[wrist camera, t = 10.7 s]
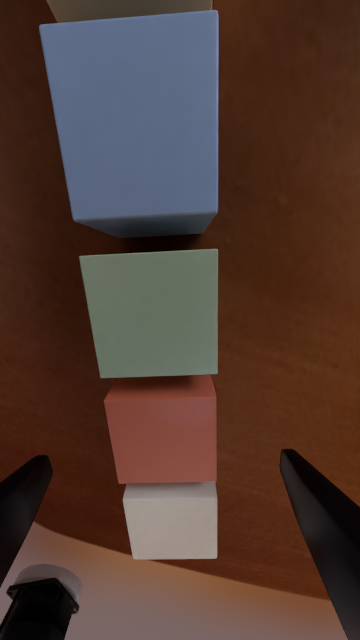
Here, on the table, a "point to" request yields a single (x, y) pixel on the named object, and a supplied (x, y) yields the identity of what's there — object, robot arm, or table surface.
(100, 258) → the sage green toy cube
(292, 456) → the robot arm
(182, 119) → the blue block
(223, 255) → the table surface
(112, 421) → the red block
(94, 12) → the block
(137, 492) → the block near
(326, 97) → the table surface
